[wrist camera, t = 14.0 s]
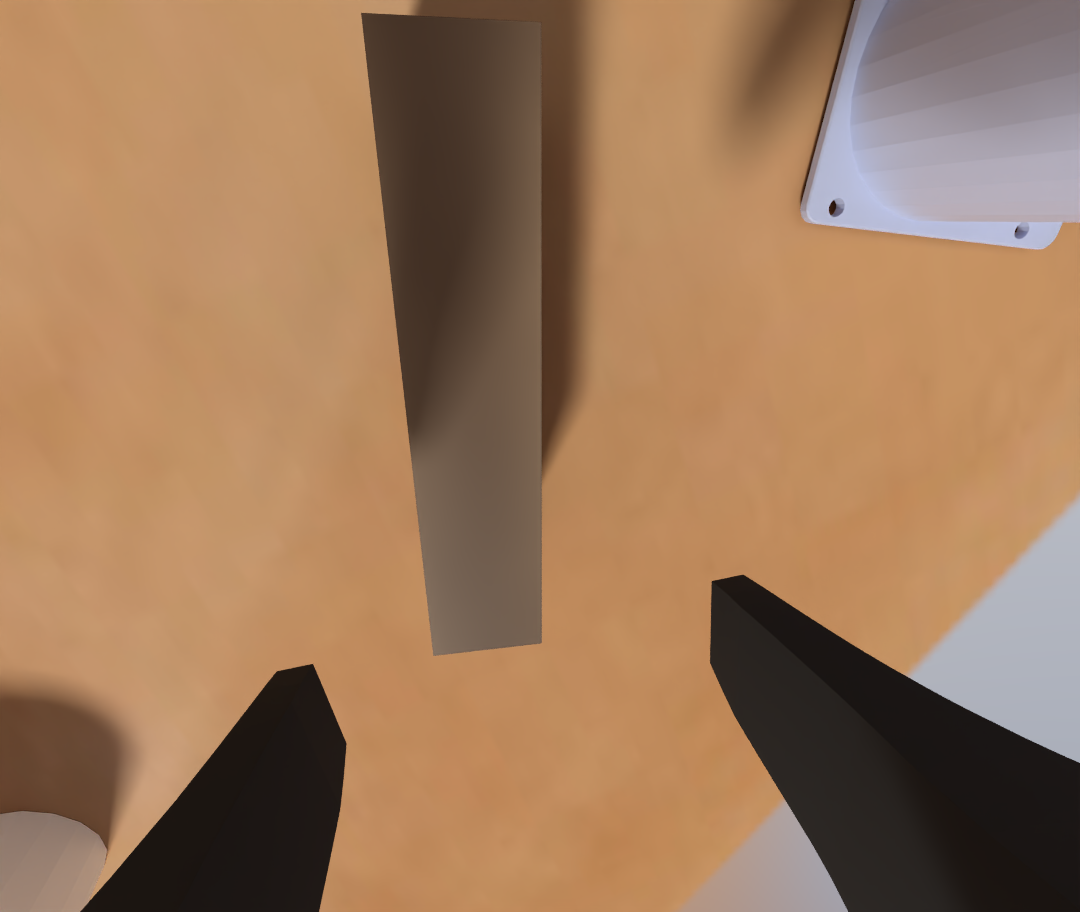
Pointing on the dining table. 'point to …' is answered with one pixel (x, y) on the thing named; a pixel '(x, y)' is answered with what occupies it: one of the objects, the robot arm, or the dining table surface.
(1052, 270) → the dining table surface
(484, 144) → the dark wooden brick
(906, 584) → the dining table surface
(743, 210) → the dining table surface
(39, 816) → the white cylinder
